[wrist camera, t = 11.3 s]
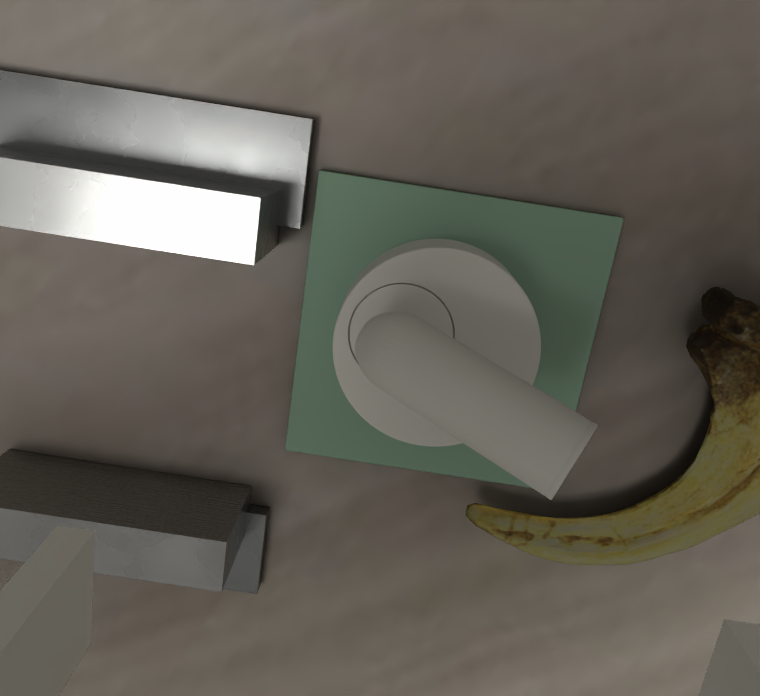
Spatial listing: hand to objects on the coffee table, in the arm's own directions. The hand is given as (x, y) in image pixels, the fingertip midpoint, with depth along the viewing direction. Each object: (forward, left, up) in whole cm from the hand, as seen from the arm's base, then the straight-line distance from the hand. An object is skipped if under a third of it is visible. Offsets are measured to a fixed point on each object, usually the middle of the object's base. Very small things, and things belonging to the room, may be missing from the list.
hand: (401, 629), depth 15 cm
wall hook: (+2, +1, -18) cm, 18 cm away
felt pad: (+2, +1, -19) cm, 19 cm away
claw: (+13, -1, -19) cm, 23 cm away
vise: (-12, -2, -19) cm, 22 cm away
